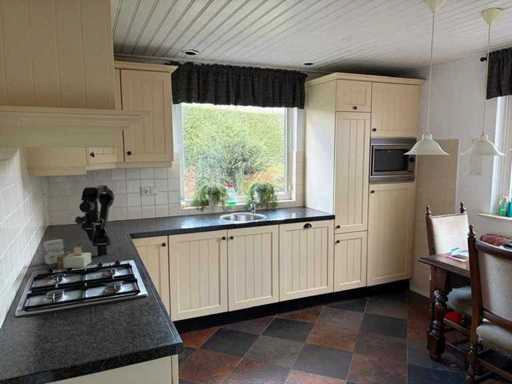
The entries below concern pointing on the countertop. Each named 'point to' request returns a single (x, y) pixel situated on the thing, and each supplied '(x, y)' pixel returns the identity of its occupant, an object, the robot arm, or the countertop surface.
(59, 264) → the wall board
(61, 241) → the ink box
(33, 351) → the countertop surface
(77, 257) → the socket block
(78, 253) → the dowel
